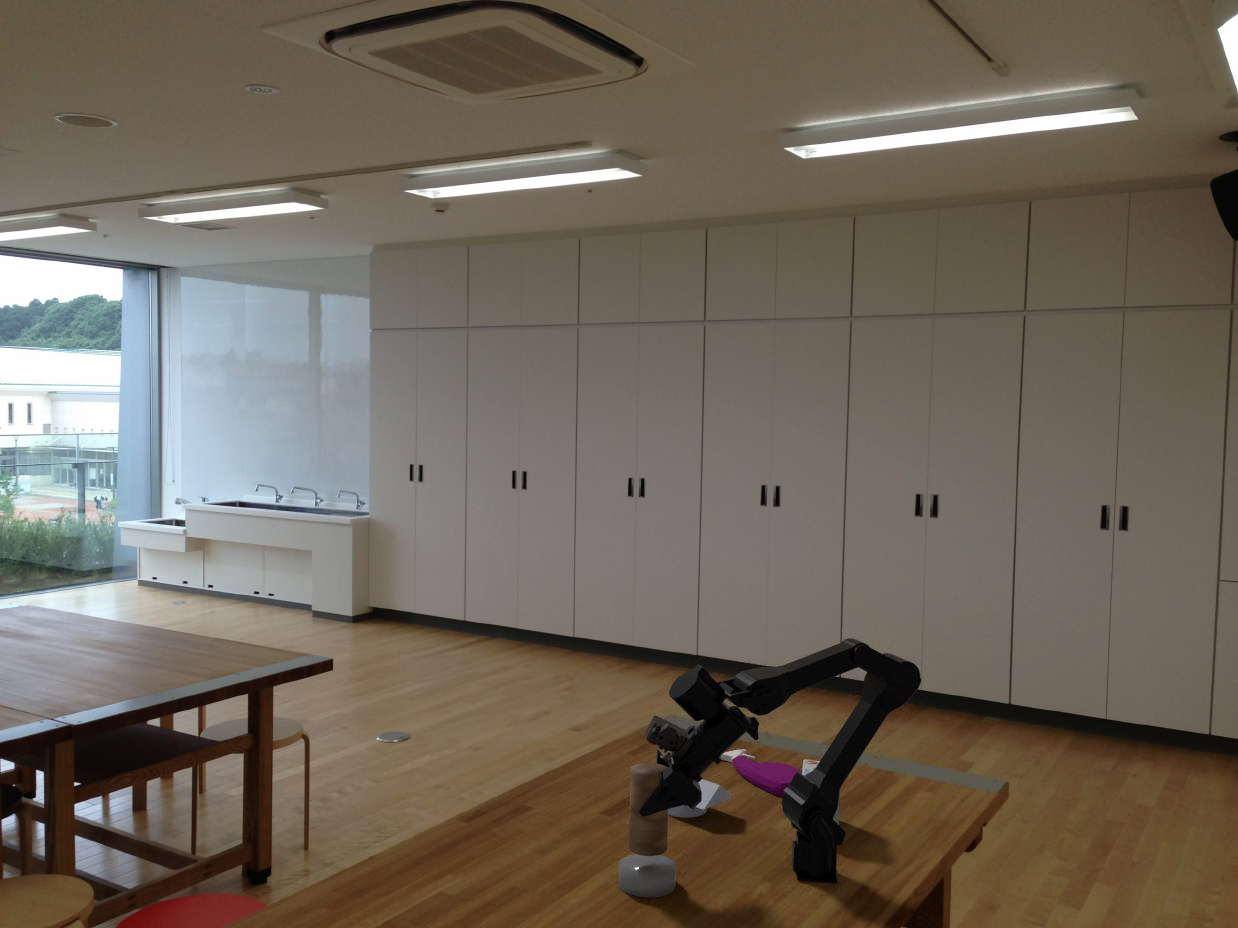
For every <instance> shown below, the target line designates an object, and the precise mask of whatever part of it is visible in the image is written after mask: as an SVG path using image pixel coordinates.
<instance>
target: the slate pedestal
mask: <svg viewBox="0 0 1238 928" xmlns="http://www.w3.org/2000/svg"><path fill="white" fill-rule="evenodd" d="M676 881H677V864H676V863H675V861H674V860H672V859H671V858H669V857H667V856H665V855H663V854H661V855H657V856H642V855H638V854H635V853H632V854H628V855H627V856H625V857H622V858H621V859H620V860H619V862H618V881H617V885H618V887H619V890H621V891H623V892H624V893H626V894H629V895H631V896H634V897H639V898H649V899H651V898H652V899H653V898H660V897H664V896H667V895H669V894H671V893H673V892H674V891H675V889H676V885H677V884H676V883H677V882H676Z"/></svg>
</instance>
